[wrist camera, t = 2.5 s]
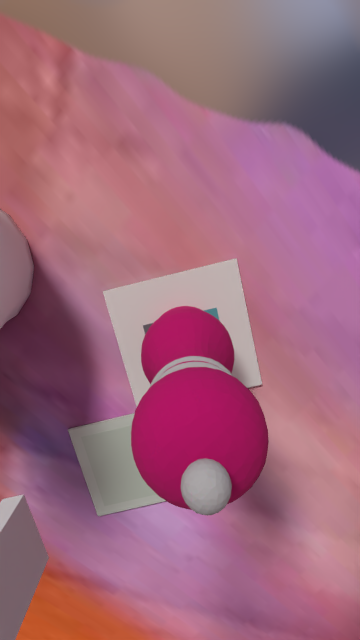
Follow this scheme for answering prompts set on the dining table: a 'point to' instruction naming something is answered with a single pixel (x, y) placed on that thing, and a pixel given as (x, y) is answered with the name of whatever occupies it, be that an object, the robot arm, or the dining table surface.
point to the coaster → (111, 465)
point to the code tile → (174, 291)
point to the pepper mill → (196, 415)
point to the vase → (13, 268)
